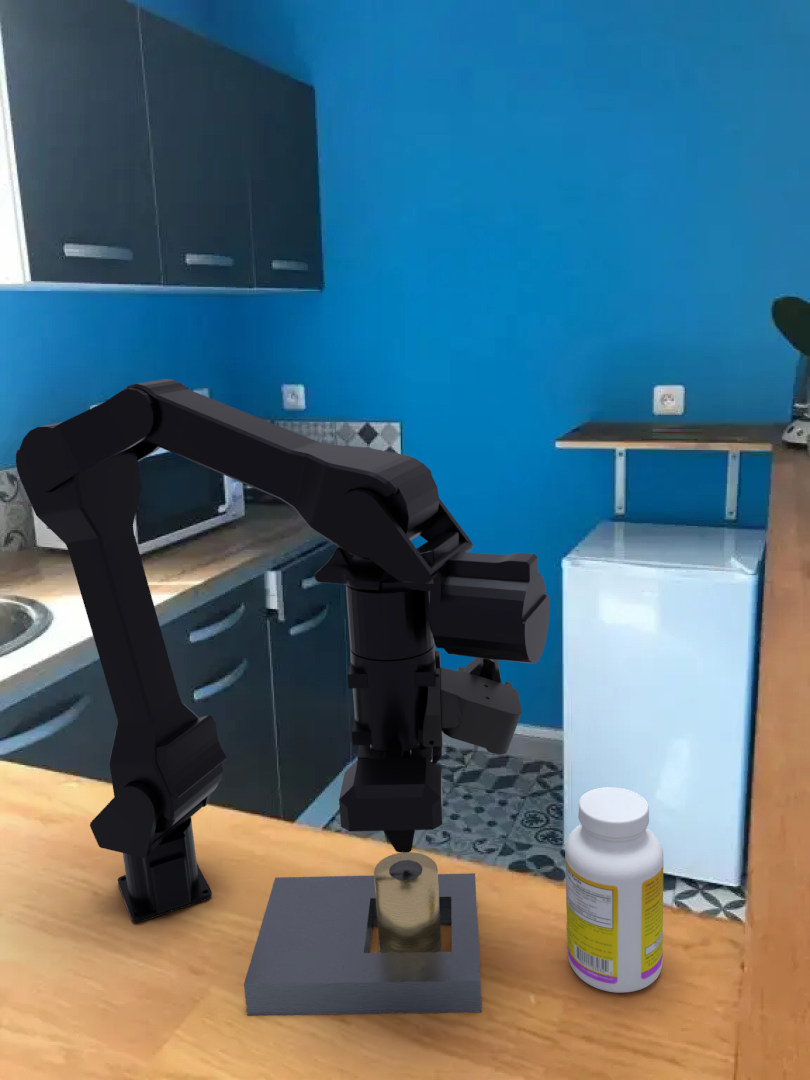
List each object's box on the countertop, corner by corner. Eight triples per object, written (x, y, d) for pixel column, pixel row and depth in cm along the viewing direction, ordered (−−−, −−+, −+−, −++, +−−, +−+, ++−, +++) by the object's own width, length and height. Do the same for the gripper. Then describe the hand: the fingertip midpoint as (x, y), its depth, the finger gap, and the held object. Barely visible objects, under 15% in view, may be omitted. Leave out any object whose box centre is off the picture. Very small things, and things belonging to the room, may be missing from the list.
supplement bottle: (647, 930, 70) (649, 776, 67) (674, 994, 64) (678, 826, 60) (558, 936, 70) (556, 782, 67) (577, 1001, 64) (575, 833, 60)
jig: (247, 1015, 64) (243, 984, 63) (277, 904, 75) (275, 877, 75) (481, 1012, 63) (480, 980, 62) (476, 900, 75) (475, 873, 74)
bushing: (369, 946, 70) (363, 864, 68) (423, 925, 72) (418, 844, 70) (397, 983, 66) (391, 897, 64) (453, 960, 68) (449, 875, 66)
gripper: (523, 699, 54) (528, 933, 57) (503, 597, 72) (508, 781, 75) (330, 705, 54) (348, 936, 58) (359, 602, 72) (371, 784, 76)
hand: (403, 849), depth 67 cm, fingers closed
